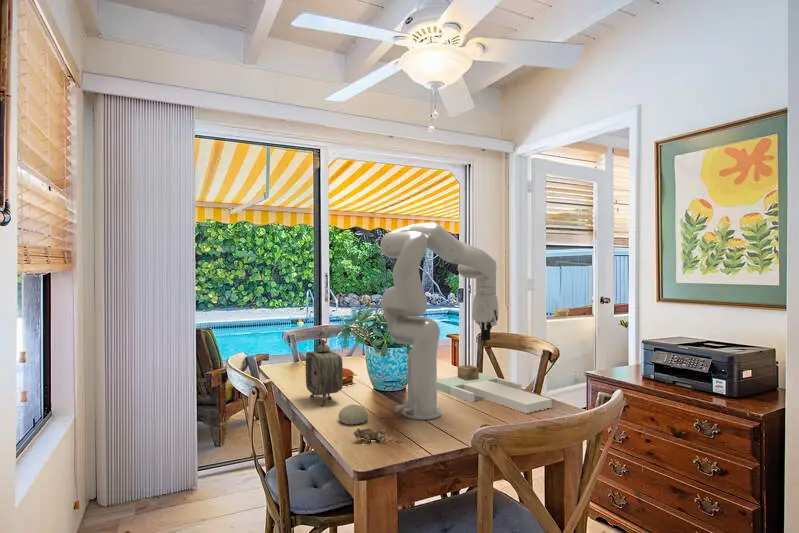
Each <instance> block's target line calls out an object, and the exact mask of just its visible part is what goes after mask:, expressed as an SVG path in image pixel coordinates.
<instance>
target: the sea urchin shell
mask: <svg viewBox="0 0 799 533" xmlns="http://www.w3.org/2000/svg"><path fill="white" fill-rule="evenodd" d="M368 414H369V413H368V411H367V409H366V408H365V407H364V406H362V405H359V404H348V405H346V406H344V407H343V408H341V409H340V410H339V413H338V414H337V415H338V419H339V421H340V422H341V423H343V424H344V425H348V424H349V425H350V426H351V425H354V424H355V425H359V424H360V425H361V423H362V424H364V423H365V422H366V421H367V420H368V417H369V415H368Z"/></svg>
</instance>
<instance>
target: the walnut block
mask: <svg viewBox="0 0 799 533" xmlns="http://www.w3.org/2000/svg"><path fill="white" fill-rule="evenodd" d="M479 371H480V369H479V367H477V366H474V365H471V364H469V365H468V364H467V365H460V366H457V376H458V378H460V379H463V380H466V381H468V380H475V379H479V373H480V372H479Z"/></svg>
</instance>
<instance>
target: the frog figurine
mask: <svg viewBox="0 0 799 533" xmlns="http://www.w3.org/2000/svg"><path fill="white" fill-rule="evenodd" d="M378 433H380V435H381V436H380V437H379V436H378ZM353 434H354V437H355V439H356V438H364V439H365V440H363V441H362V442H361V443H362V444H367V443H368V442H370V441H371V440H380V441H379V444H380V443H383V444H385V443H384V442H387V441H386V436H385V435H386V434H387V433H386V429H385V428H382V429H379V430H377V431H374V430H373V429H370V428H366V429H365V428H364V429H360V428H357V429H356V430H355V431H354V433H353ZM369 440H370V441H369ZM362 444H361V445H362ZM367 445H368V444H367Z"/></svg>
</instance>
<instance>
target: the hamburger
mask: <svg viewBox="0 0 799 533" xmlns="http://www.w3.org/2000/svg"><path fill="white" fill-rule="evenodd" d="M354 376H358V375H357V374H356V373H354V371H353V370H351V369H349V368H345V367H343V385H342V386H348V385H352V384H353V385H354ZM353 385H352V386H353Z"/></svg>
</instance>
